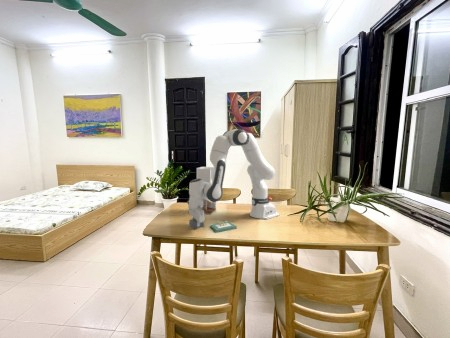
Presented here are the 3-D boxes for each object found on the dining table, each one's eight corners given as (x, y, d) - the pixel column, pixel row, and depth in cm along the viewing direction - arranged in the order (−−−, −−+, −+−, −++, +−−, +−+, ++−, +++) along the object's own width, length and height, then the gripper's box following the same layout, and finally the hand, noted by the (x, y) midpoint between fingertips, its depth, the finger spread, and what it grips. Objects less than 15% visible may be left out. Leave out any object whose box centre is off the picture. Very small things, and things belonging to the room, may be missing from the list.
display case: (197, 213, 176) (196, 168, 171) (203, 209, 185) (202, 166, 181) (210, 214, 172) (210, 169, 167) (216, 210, 181) (215, 167, 177)
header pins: (226, 224, 148) (226, 220, 147) (226, 225, 147) (226, 220, 146) (219, 225, 145) (219, 221, 145) (220, 226, 145) (220, 221, 144)
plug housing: (201, 224, 151) (201, 217, 150) (203, 227, 147) (203, 219, 147) (189, 227, 147) (189, 219, 147) (191, 229, 144) (191, 221, 143)
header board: (229, 223, 154) (229, 221, 154) (236, 228, 145) (236, 226, 145) (210, 227, 148) (210, 224, 147) (216, 232, 139) (216, 230, 139)
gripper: (207, 207, 138) (207, 229, 140) (195, 199, 156) (195, 219, 158) (197, 209, 135) (197, 231, 137) (186, 200, 153) (187, 220, 155)
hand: (196, 224), depth 147 cm, fingers closed on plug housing, 4 cm apart
